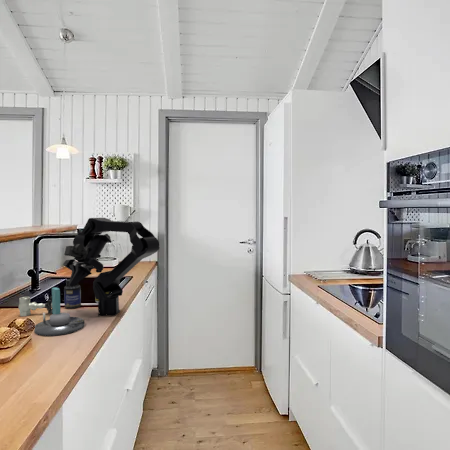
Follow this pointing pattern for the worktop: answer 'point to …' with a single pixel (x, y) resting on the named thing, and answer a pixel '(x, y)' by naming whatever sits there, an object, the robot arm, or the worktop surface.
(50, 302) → the valve
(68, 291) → the pill bottle
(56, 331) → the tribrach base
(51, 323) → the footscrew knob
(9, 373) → the worktop surface
